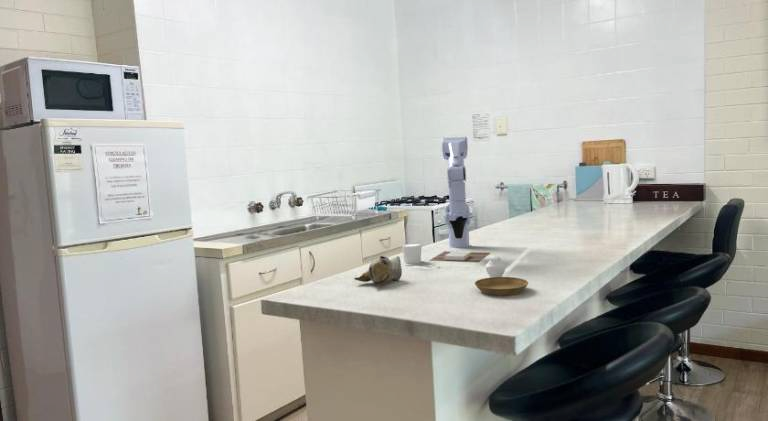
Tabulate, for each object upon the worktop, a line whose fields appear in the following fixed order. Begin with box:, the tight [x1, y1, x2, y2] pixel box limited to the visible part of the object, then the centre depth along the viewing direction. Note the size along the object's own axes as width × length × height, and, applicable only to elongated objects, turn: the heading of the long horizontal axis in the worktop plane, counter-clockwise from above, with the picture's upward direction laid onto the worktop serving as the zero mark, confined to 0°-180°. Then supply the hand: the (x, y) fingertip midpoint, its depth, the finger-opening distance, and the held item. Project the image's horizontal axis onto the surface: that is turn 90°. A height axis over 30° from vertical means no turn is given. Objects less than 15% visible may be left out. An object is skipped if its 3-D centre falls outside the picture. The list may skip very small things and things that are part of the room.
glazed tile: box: [445, 250, 472, 262], centre depth 211 cm, size 2×7×9 cm
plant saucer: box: [474, 276, 529, 297], centre depth 167 cm, size 15×15×3 cm
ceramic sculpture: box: [353, 255, 403, 286], centre depth 183 cm, size 11×9×15 cm
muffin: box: [484, 255, 507, 278], centre depth 182 cm, size 6×6×7 cm
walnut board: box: [428, 250, 491, 263], centre depth 215 cm, size 18×18×1 cm
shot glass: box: [401, 243, 423, 267], centre depth 209 cm, size 7×7×7 cm
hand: (458, 238), depth 213 cm, fingers closed
